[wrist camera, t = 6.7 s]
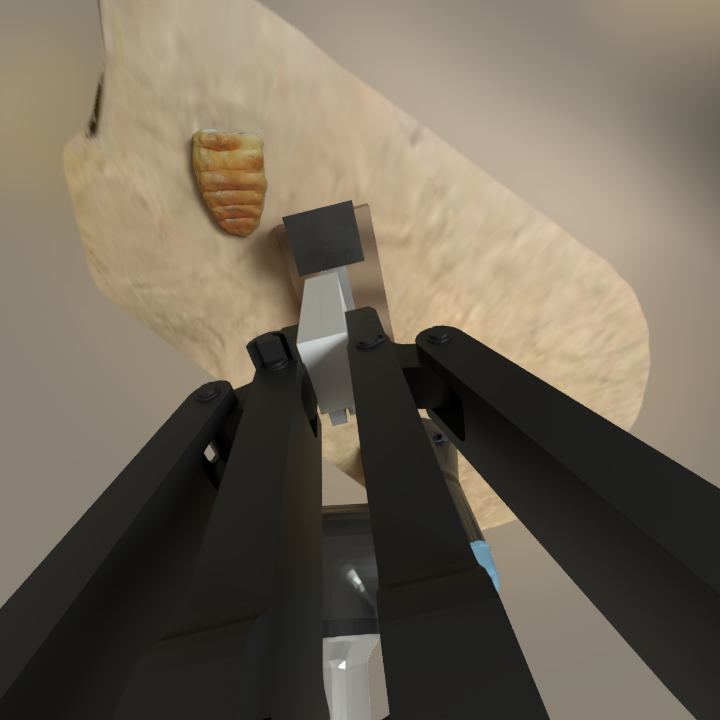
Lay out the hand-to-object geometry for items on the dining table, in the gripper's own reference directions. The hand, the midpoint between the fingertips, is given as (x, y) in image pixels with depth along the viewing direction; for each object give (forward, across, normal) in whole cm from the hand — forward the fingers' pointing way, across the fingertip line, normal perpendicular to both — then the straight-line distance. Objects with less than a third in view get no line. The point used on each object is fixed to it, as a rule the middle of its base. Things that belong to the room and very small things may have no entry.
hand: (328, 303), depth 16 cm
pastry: (+25, +7, -6) cm, 27 cm away
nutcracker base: (+24, 0, +9) cm, 26 cm away
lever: (+17, 0, +8) cm, 19 cm away
